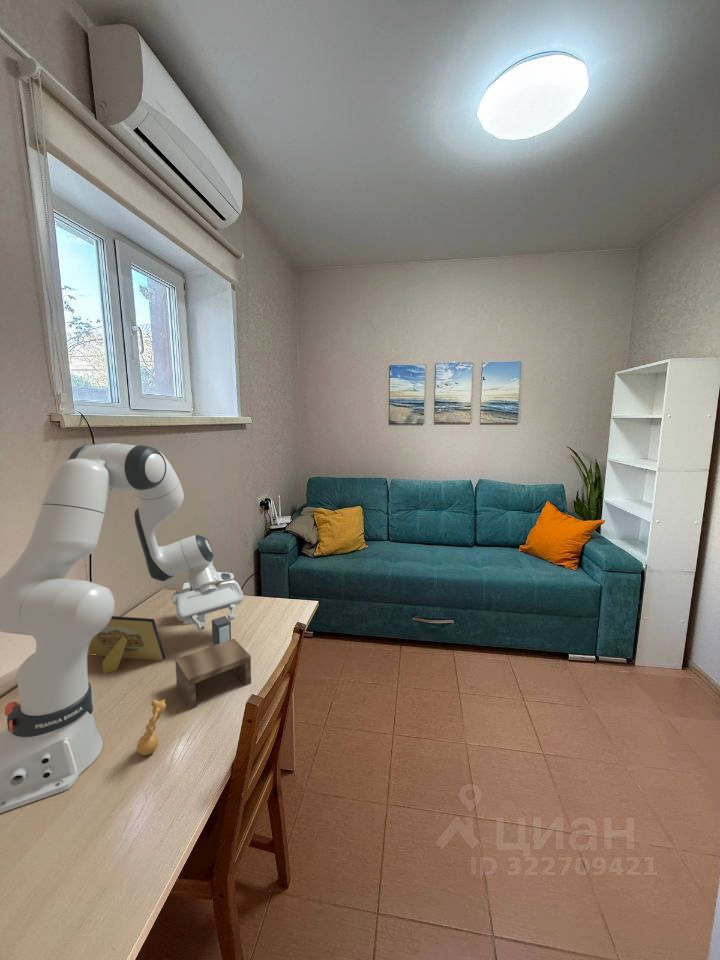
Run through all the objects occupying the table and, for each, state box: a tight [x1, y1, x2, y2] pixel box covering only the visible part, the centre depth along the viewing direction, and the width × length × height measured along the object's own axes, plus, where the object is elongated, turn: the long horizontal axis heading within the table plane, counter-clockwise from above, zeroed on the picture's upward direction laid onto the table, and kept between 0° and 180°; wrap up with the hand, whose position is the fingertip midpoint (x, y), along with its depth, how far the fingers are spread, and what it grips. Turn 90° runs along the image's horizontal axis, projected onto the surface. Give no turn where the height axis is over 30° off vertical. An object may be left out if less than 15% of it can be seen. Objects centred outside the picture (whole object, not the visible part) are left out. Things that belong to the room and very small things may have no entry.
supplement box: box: [181, 582, 207, 625], centre depth 140 cm, size 7×7×13 cm
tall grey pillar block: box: [211, 615, 232, 646], centre depth 119 cm, size 4×5×11 cm
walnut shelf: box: [175, 638, 252, 710], centre depth 105 cm, size 16×11×8 cm
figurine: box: [136, 699, 167, 756], centre depth 83 cm, size 8×6×12 cm
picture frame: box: [88, 615, 166, 674], centre depth 112 cm, size 23×9×15 cm, turn 84°
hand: (217, 624), depth 121 cm, fingers open, 8 cm apart
